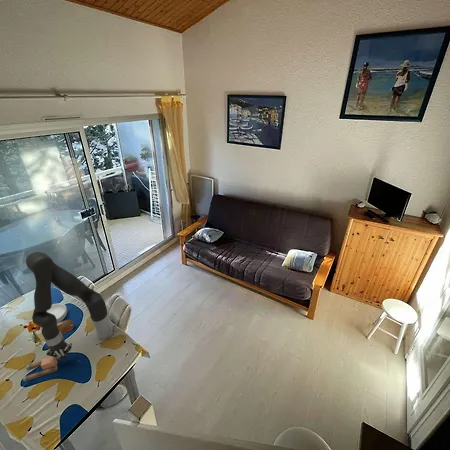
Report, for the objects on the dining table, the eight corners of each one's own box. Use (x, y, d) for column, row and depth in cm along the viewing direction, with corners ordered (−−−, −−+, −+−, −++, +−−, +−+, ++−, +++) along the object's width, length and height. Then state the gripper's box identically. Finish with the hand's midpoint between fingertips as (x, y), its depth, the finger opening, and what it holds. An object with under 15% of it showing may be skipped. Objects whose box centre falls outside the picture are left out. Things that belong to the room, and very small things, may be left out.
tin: (49, 340, 156) (45, 331, 152) (49, 336, 158) (44, 328, 154) (75, 328, 164) (72, 320, 160) (75, 325, 166) (71, 317, 162)
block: (57, 361, 144) (54, 355, 141) (56, 367, 141) (53, 361, 138) (45, 365, 142) (42, 359, 139) (44, 371, 139) (40, 365, 136)
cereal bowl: (74, 316, 172) (71, 309, 169) (48, 334, 160) (45, 326, 157) (61, 306, 180) (58, 299, 177) (36, 321, 168) (32, 314, 164)
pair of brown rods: (60, 357, 147) (58, 355, 145) (57, 370, 140) (56, 368, 139) (28, 367, 141) (26, 365, 140) (24, 381, 134) (22, 379, 133)
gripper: (69, 330, 139) (77, 348, 148) (41, 337, 135) (52, 356, 143) (67, 341, 133) (76, 360, 142) (38, 349, 129) (49, 368, 137)
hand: (64, 358), depth 143 cm, fingers closed
